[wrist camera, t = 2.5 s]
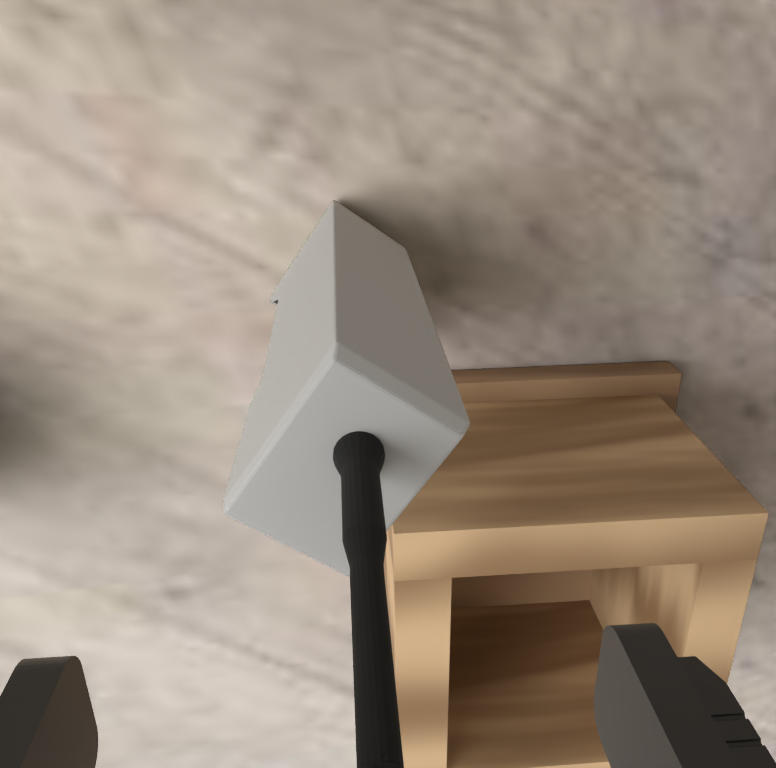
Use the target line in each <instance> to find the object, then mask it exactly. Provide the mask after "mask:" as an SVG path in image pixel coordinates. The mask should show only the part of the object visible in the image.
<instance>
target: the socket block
mask: <svg viewBox="0 0 776 768" xmlns="http://www.w3.org/2000/svg"><path fill="white" fill-rule="evenodd" d="M451 372H452V374H453V377H454V380H455V383H456V385H457V388H458V391H459V393H460V396H461V399H462V401H463V404H464V407H465V410H466V412H467V415H468V418H469V420H470V425H469V428H468V429H467V431H466V433H465V435H464V436H463V438H462V439H461V440H460V442H459V443H458V444H457V445H456V447H455V448H454V449H453V450H452V451H451V453H450V454H449V455H448V456H447V458H446V459H445V460H444V461H443V463H442V464H441V465H440V466H439V467H438V469H437V470H436V471H435V472H434V474H433V475H432V476H431V477H430V479H429V480H428V481H427V482H426V483H425V485H424V486H423V487H422V488H421V490H420V491H419V492H418V493H417V495H416V496H415V497H414V498H413V499H412V501H411V502H410V503H409V504H408V506H407V507H406V508H405V509H404V511H403V512H402V513H401V514H400V515H399V517H398V518H397V519H396V520H395V522H394V523H393V524H392V525H391V526H390V528H389V529H388V530H387V531H386V534H387V543H386V550H385V557H384V564H383V565H384V575H385V585H386V595H387V605H388V615H389V624H390V634H391V644H392V654H393V664H394V674H395V683H396V693H397V703H398V713H399V723H400V733H401V742H402V752H403V762H404V768H611V766H610V764H609V761H608V759H607V756H606V754H605V751H604V748H603V746H602V743H601V741H600V738H599V734H598V731H597V726H596V721H595V715H594V691H595V684H596V677H597V670H598V663H599V656H600V649H601V642H602V635H603V631H604V629H605V627H606V626H609V625H625V624H642V623H655V624H657V625H658V626H659V627H660V628H661V629H662V631H663V633H664V634H665V636H666V638H667V640H668V641H669V643H670V645H671V647H672V648H673V650H674V652H675V654H676V655H677V657H689V656H696V657H697V658H698V659H699V660H701V661H702V662H703V663H704V664H705V665H706V666H708V667H709V668H710V669H711V670H712V671H713V672H714V673H716V674H717V675H718V676H719V677H720V678H721V679H723V680H724V681H725V682H726V684H727V682H728V678H729V674H730V669H731V665H732V661H733V657H734V653H735V649H736V645H737V641H738V637H739V633H740V629H741V624H742V620H743V616H744V612H745V608H746V604H747V600H748V596H749V592H750V588H751V583H752V579H753V575H754V571H755V567H756V563H757V559H758V555H759V551H760V547H761V543H762V538H763V534H764V530H765V526H766V522H767V518H768V514H769V513H768V512H767V511H766V510H765V509H764V507H763V506H762V505H761V504H760V503H759V502H758V501H757V500H756V499H755V498H754V497H753V496H752V495H751V494H750V493H749V491H748V490H747V489H746V488H745V487H744V486H743V485H742V484H741V483H740V482H739V481H738V480H737V479H736V478H735V476H734V475H733V474H732V473H731V472H730V471H729V470H728V469H727V468H726V467H725V466H724V465H723V464H722V463H721V462H720V460H719V459H718V458H717V457H716V456H715V455H714V454H713V453H712V452H711V451H710V450H709V449H708V448H707V447H706V446H705V444H704V443H703V442H702V441H701V440H700V439H699V438H698V437H697V436H696V435H695V434H694V433H693V432H692V431H691V430H690V428H689V427H688V426H687V425H686V424H685V423H684V422H683V421H682V420H681V419H680V418H679V417H678V416H677V415H676V414H675V412H676V406H677V400H678V394H679V389H680V383H681V377H682V373H681V372H680V371H678V370H677V369H676V368H675V367H674V366H673V365H672V364H671V363H670V362H669V361H657V362H633V363H610V364H587V365H563V366H540V367H517V368H493V369H470V370H451Z"/></svg>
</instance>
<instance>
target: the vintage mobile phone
mask: <svg viewBox="0 0 776 768" xmlns="http://www.w3.org/2000/svg"><path fill="white" fill-rule="evenodd" d="M270 302H271V303H273V304H274V305H276V306H277V309H276V314H275V319H274V324H273V329H272V334H271V339H270V343H269V348H268V353H267V358H266V363H265V368H264V373H263V376H262V379H261V381H260V383H259V386H258V388H257V390H256V393H255V395H254V397H253V400H252V402H251V404H250V407H249V411H248V414H247V418H246V421H245V425H244V428H243V432H242V436H241V439H240V443H239V446H238V450H237V453H236V457H235V460H234V464H233V467H232V471H231V474H230V478H229V481H228V485H227V488H226V492H225V495H224V499H223V513H224V514H225V515H226V516H228V517H230V518H232V519H234V520H236V521H238V522H240V523H242V524H244V525H246V526H248V527H250V528H252V529H254V530H256V531H258V532H260V533H262V534H264V535H266V536H268V537H270V538H272V539H274V540H276V541H278V542H280V543H282V544H284V545H286V546H288V547H290V548H292V549H294V550H296V551H298V552H300V553H302V554H304V555H306V556H308V557H310V558H312V559H314V560H316V561H318V562H320V563H322V564H324V565H326V566H328V567H330V568H332V569H334V570H336V571H338V572H340V573H342V574H344V575H346V576H350V589H351V616H352V643H353V671H354V698H355V725H356V753H357V768H404V762H403V752H402V742H401V733H400V723H399V713H398V703H397V693H396V683H395V674H394V664H393V654H392V644H391V634H390V624H389V615H388V605H387V595H386V585H385V575H384V565H383V564H384V557H385V550H386V543H387V534H386V531H387V530H388V529H389V528H390V526H391V525H392V524H393V523H394V522H395V520H396V519H397V518H398V517H399V515H400V514H401V513H402V512H403V511H404V509H405V508H406V507H407V506H408V504H409V503H410V502H411V501H412V499H413V498H414V497H415V496H416V495H417V493H418V492H419V491H420V490H421V488H422V487H423V486H424V485H425V483H426V482H427V481H428V480H429V479H430V477H431V476H432V475H433V474H434V472H435V471H436V470H437V469H438V467H439V466H440V465H441V464H442V463H443V461H444V460H445V459H446V458H447V456H448V455H449V454H450V453H451V451H452V450H453V449H454V448H455V447H456V445H457V444H458V443H459V442H460V440H461V439H462V438H463V436H464V435H465V433H466V431H467V429H468V428H469V425H470V420H469V418H468V415H467V412H466V410H465V407H464V404H463V401H462V399H461V396H460V393H459V391H458V388H457V385H456V383H455V380H454V377H453V374H452V372H451V369H450V366H449V364H448V361H447V358H446V356H445V353H444V350H443V347H442V345H441V342H440V339H439V337H438V334H437V331H436V329H435V326H434V323H433V320H432V318H431V315H430V312H429V310H428V307H427V304H426V302H425V299H424V296H423V294H422V291H421V288H420V285H419V283H418V280H417V277H416V275H415V272H414V269H413V267H412V264H411V261H410V258H409V256H408V253H407V250H406V248H405V247H403V246H402V245H400V244H399V243H397V242H396V241H394V240H393V239H391V238H390V237H388V236H387V235H385V234H384V233H382V232H381V231H380V230H378V229H377V228H375V227H374V226H372V225H371V224H369V223H368V222H366V221H365V220H363V219H362V218H360V217H359V216H357V215H356V214H354V213H353V212H351V211H350V210H348V209H347V208H345V207H344V206H343V205H341V204H340V203H338V202H337V201H335V200H333V201H332V202H331V204H330V205H329V207H328V208H327V210H326V212H325V213H324V215H323V216H322V218H321V219H320V221H319V222H318V224H317V225H316V227H315V228H314V230H313V231H312V233H311V235H310V236H309V238H308V239H307V241H306V242H305V244H304V245H303V247H302V248H301V250H300V251H299V253H298V255H297V256H296V258H295V259H294V261H293V262H292V264H291V265H290V267H289V268H288V270H287V271H286V273H285V274H284V276H283V278H282V279H281V281H280V282H279V284H278V285H277V287H276V288H275V290H274V291H273V293H272V295H271V300H270Z"/></svg>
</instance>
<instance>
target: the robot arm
mask: <svg viewBox="0 0 776 768" xmlns="http://www.w3.org/2000/svg"><path fill="white" fill-rule="evenodd" d="M594 715H595V721H596V726H597V731H598V734H599V738H600V741H601V743H602V746H603V748H604V751H605V754H606V756H607V759H608V761H609V764H610V766H611V768H776V763H775V761H774V759H773V758H772V756H771V755H770V753H769V751H768V750H767V748H766V746H765V745H763V746H762V744H761V738H760V737H759V735H758V734H757V732H756V730H755V729H754V727H753V726H752V724H751V722H750V721H749V719H746V718H745V715H744V711H743V710H742V708H741V706H740V705H739V703H738V701H737V700H736V698H735V697H734V695H733V693H732V692H731V690H730V689H729V687H728V685H727V684H726V682H725V681H724V680H723V679H721V678H720V677H719V676H718V675H717V674H716V673H714V672H713V671H712V670H711V669H710V668H709V667H708V666H706V665H705V664H704V663H703V662H702V661H701V660H699V659H698V658H697V657H696V656H689V657H677V655H676V654H675V652H674V650H673V648H672V647H671V645H670V643H669V641H668V640H667V638H666V636H665V634H664V633H663V631H662V629H661V628H660V627H659V626H658V625H657V624H655V623H642V624H625V625H609V626H606V627H605V629H604V631H603V635H602V642H601V649H600V656H599V663H598V670H597V677H596V684H595V691H594ZM97 751H98V732H97V725H96V721H95V717H94V713H93V709H92V705H91V701H90V697H89V693H88V689H87V685H86V681H85V677H84V673H83V669H82V665H81V662H80V660H79V659H78V657H76V656H66V657H49V658H33V659H23V660H21V661H20V662H19V663H18V664H17V666H16V667H15V669H14V671H13V673H12V675H11V677H10V679H9V681H8V683H7V684H6V686H5V688H4V690H3V692H2V694H1V696H0V768H95V765H96V759H97Z"/></svg>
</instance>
